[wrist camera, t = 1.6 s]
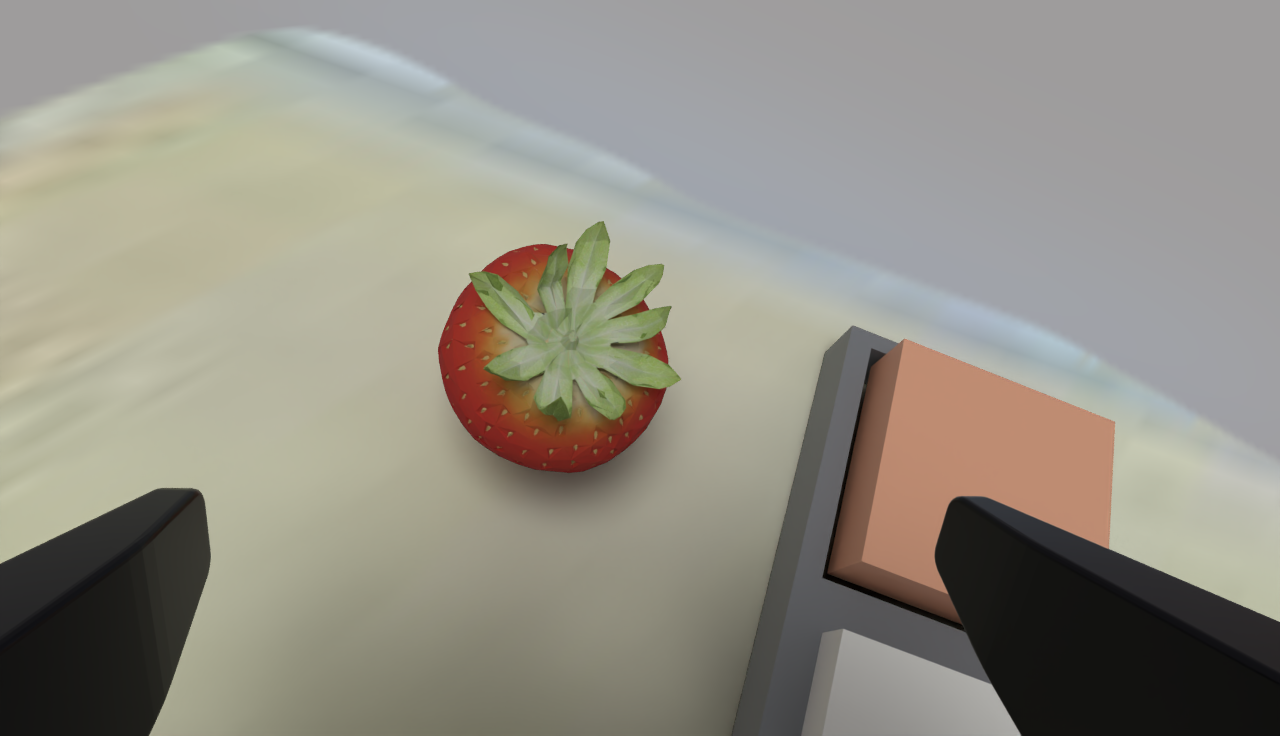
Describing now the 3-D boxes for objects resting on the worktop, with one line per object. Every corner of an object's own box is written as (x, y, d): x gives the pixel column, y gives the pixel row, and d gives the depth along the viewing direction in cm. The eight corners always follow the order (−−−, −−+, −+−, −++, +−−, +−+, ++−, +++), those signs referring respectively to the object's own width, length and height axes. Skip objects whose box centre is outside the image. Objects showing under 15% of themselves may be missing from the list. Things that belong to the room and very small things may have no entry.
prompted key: (1048, 657, 21) (1103, 653, 19) (827, 573, 20) (861, 561, 18) (1065, 443, 23) (1115, 421, 22) (870, 366, 23) (904, 338, 21)
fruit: (516, 551, 20) (538, 470, 13) (408, 392, 22) (375, 237, 14) (665, 448, 22) (756, 329, 15) (559, 307, 23) (597, 133, 16)
